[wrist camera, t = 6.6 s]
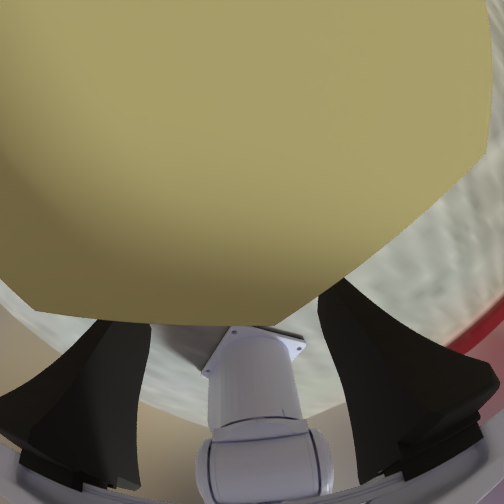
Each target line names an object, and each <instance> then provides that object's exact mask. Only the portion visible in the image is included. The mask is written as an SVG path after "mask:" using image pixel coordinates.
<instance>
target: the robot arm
mask: <svg viewBox="0 0 504 504" xmlns="http://www.w3.org/2000/svg"><path fill="white" fill-rule="evenodd" d="M317 312H318V316H319V320H320V324H321V328H322V332H323V335H324V338H325V340H326V343H327V346H328V348H329V351H330V353H331V356H332V359H333V361H334V364H335V366H336V369H337V372H338V374H339V377H340V380H341V383H342V386H343V390H344V394H345V398H346V402H347V407H348V411H349V416H350V421H351V426H352V431H353V438H354V444H355V451H356V460H357V469H358V479H359V483H360V486H358V487H355V488H351V489H348V490H344V491H340V492H336V493H332V486H333V481H334V471H333V463H332V456H331V452H330V448H329V444H328V441H327V439H326V436H325V435H324V434H323V433H322V432H321V431H319V430H318V429H317V428H310V429H308V424H307V419H303V418H302V412H301V407H300V402H299V397H298V392H297V387H296V382H295V377H294V372H293V367H292V361H293V360H294V359H295V357H296V356H297V355H298V354H299V353H300V352H301V351H302V350H303V349H304V348H305V347H306V345H307V344H306V341H305V340H301V339H297V338H293V337H289V336H285V335H281V334H277V333H274V332H270V331H266V330H263V329H259V328H255V327H252V326H230V328H229V329H228V331H227V332H226V334H225V335H224V337H223V339H222V340H221V342H220V343H219V345H218V346H217V348H216V350H215V351H214V353H213V354H212V356H211V357H210V359H209V360H208V362H207V363H206V365H205V367H204V368H203V370H202V371H201V376H202V377H205V378H209V388H208V426H209V429H210V431H211V432H212V435H213V436H212V439H206V440H205V441H204V442H203V444H202V445H201V446H200V447H199V448H198V451H197V455H196V462H195V473H196V482H197V486H198V490H199V492H200V494H201V496H202V497H203V500H204V503H205V504H360V503H363V502H366V503H365V504H477V503H478V502H479V501H480V500H481V499H482V498H483V497H484V496H485V495H487V493H489V492H490V491H491V490H492V489H493V488H494V487H495V486H496V485H497V484H498V483H499V482H500V481H502V480H503V479H504V409H503V410H501V411H500V412H499V413H497V414H496V415H495V416H493V417H492V418H491V419H489V420H488V421H487V422H485V423H484V424H483V425H482V426H480V427H479V425H478V423H477V421H478V420H480V414H479V412H478V410H479V409H480V408H481V407H482V406H483V405H484V404H485V403H486V402H487V401H488V400H489V399H490V398H491V397H492V396H493V395H494V394H495V392H496V391H497V390H498V389H499V386H500V381H499V379H498V377H497V376H496V374H495V372H494V371H493V369H492V367H491V366H490V364H489V363H487V362H484V361H481V360H478V359H475V358H471V357H468V356H465V355H462V354H460V353H458V352H455V351H453V350H450V349H448V348H446V347H443V346H441V345H439V344H437V343H435V342H433V341H431V340H429V339H427V338H425V337H424V336H422V335H420V334H418V333H416V332H415V331H413V330H411V329H410V328H408V327H407V326H405V325H404V324H402V323H400V322H399V321H397V320H396V319H394V318H393V317H392V316H390V315H389V314H388V313H386V312H385V311H384V310H382V309H381V308H380V307H378V306H377V305H376V304H374V303H373V302H372V301H371V300H369V299H368V298H367V297H366V296H365V295H363V294H362V293H361V292H360V291H359V290H358V289H356V288H355V287H354V286H353V285H352V284H351V283H350V282H348V281H347V280H346V279H345V278H342V279H341V280H340V281H338V282H337V283H335V284H334V285H333V286H331V287H330V288H329V289H327V290H326V291H324V292H323V293H322V294H320V295H319V297H318V310H317ZM150 340H151V327H150V325H149V324H148V323H133V322H121V321H110V320H100V319H97V321H96V322H95V323H94V324H93V325H92V326H91V327H90V328H89V329H88V330H87V331H86V332H85V333H84V334H83V335H82V336H81V337H80V338H79V339H78V340H77V342H76V343H75V344H74V345H73V346H72V347H71V348H70V349H68V350H67V351H66V352H65V353H64V354H63V355H62V356H61V357H60V358H58V359H57V360H56V361H55V362H54V363H53V364H51V365H50V366H49V367H48V368H46V369H45V370H44V371H42V372H41V373H40V374H38V375H37V376H35V377H34V378H33V379H31V380H30V381H28V382H27V383H25V384H23V385H22V386H20V387H18V388H17V389H15V390H13V391H11V392H9V393H7V394H5V395H3V396H1V397H0V434H2V435H3V436H4V437H6V438H7V439H8V440H10V441H11V442H13V443H14V444H16V445H17V446H19V447H20V448H21V449H22V451H21V454H20V453H19V452H17V451H15V450H14V449H12V448H10V447H9V446H7V445H5V444H4V443H0V494H1V495H2V496H4V497H5V498H6V499H7V500H8V501H10V502H11V503H12V504H179V503H171V502H163V501H156V500H150V499H145V498H139V497H134V496H130V495H125V494H121V493H117V492H113V491H109V490H107V487H110V488H113V489H116V487H120V488H124V489H128V490H133V491H135V490H137V489H139V488H140V487H141V483H140V477H139V470H138V461H137V445H136V444H137V442H136V437H137V436H136V432H137V427H136V426H137V410H138V401H139V395H140V390H141V385H142V381H143V376H144V372H145V367H146V363H147V359H148V354H149V349H150ZM376 480H377V481H376ZM373 481H374V482H373ZM370 482H371V483H370ZM367 483H368V484H367ZM364 484H365V485H364Z"/></svg>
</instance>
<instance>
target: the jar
mask: <svg viewBox="0 0 504 504" xmlns="http://www.w3.org/2000/svg"><path fill="white" fill-rule="evenodd" d="M492 82H493V70H492V47H491V36H490V27H489V20H488V14H487V8H486V3H485V0H0V279H1V280H2V281H3V282H4V283H5V284H6V285H7V286H8V287H9V288H10V289H11V290H12V291H14V292H15V293H16V294H17V295H18V296H19V297H20V298H21V299H22V300H23V301H25V302H26V303H27V304H28V305H29V306H30V307H31V308H33V309H34V310H35V311H40V312H46V313H53V314H60V315H67V316H74V317H82V318H91V319H100V320H110V321H121V322H133V323H148V324H165V325H189V326H274V325H276V324H278V323H279V322H281V321H282V320H284V319H285V318H287V317H288V316H290V315H291V314H293V313H294V312H296V311H297V310H299V309H300V308H302V307H303V306H304V305H306V304H307V303H309V302H310V301H312V300H313V299H315V298H316V297H317V296H319V295H320V294H322V293H323V292H324V291H326V290H327V289H329V288H330V287H331V286H333V285H334V284H335V283H337V282H338V281H340V280H341V279H342V278H344V277H345V276H346V275H348V274H349V273H350V272H352V271H353V270H354V269H356V268H357V267H358V266H360V265H361V264H362V263H363V262H365V261H366V260H367V259H369V258H370V257H371V256H372V255H374V254H375V253H376V252H377V251H379V250H380V249H381V248H382V247H384V246H385V245H386V244H387V243H389V242H390V241H391V240H392V239H394V238H395V237H396V236H397V235H398V234H400V233H401V232H402V231H403V230H404V229H406V228H407V227H408V226H409V225H410V224H411V223H413V222H414V221H415V220H416V219H417V218H418V217H419V216H421V215H422V214H423V213H424V212H425V211H426V210H427V209H429V208H430V207H431V206H432V205H433V204H434V203H435V202H436V201H437V200H438V199H440V198H441V197H442V196H443V195H444V194H445V193H446V192H447V191H448V190H449V189H450V188H451V187H452V186H453V185H455V184H456V183H457V182H458V181H459V180H460V179H461V178H462V177H463V176H464V175H465V174H466V173H467V172H468V171H469V170H470V169H471V168H472V167H473V166H474V165H475V164H476V163H477V162H478V161H479V160H480V159H481V158H482V157H483V155H484V154H485V153H486V148H487V141H488V134H489V127H490V117H491V106H492Z"/></svg>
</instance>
